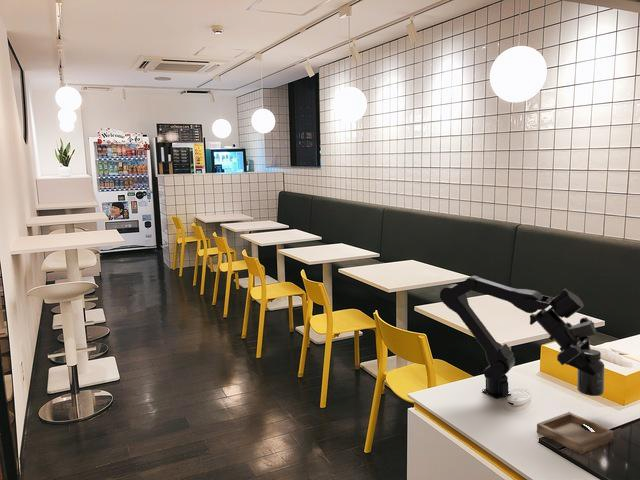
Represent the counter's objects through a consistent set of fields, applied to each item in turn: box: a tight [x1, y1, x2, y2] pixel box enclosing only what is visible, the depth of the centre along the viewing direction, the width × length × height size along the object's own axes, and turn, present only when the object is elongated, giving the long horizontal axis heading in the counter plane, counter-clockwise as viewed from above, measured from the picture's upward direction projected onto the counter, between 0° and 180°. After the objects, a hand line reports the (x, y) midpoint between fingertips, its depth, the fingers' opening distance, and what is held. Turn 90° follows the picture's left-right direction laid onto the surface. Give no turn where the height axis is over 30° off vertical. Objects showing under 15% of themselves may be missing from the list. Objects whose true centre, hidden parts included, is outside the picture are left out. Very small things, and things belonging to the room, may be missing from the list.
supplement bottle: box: [576, 348, 605, 397], centre depth 146 cm, size 7×7×12 cm
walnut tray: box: [536, 411, 615, 455], centre depth 136 cm, size 13×13×2 cm
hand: (596, 370), depth 145 cm, fingers closed on supplement bottle, 7 cm apart
